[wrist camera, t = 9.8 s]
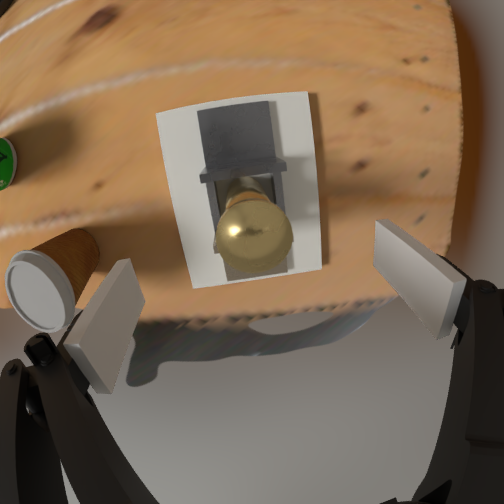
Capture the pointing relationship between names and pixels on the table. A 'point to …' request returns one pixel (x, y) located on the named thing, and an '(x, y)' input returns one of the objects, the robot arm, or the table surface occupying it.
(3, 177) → the soda can
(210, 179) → the hinge
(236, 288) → the table surface
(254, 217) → the pin
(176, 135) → the board
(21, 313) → the disposable coffee cup
